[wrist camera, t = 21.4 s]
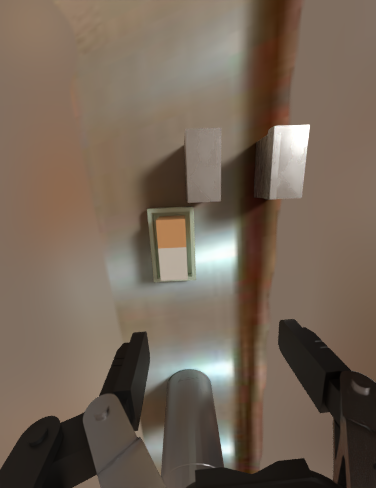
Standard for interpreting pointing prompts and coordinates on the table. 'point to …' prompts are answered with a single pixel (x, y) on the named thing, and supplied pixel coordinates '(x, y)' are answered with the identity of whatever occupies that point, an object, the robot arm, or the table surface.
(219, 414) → the table surface
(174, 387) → the robot arm
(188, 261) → the tray
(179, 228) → the two-tone eraser block
